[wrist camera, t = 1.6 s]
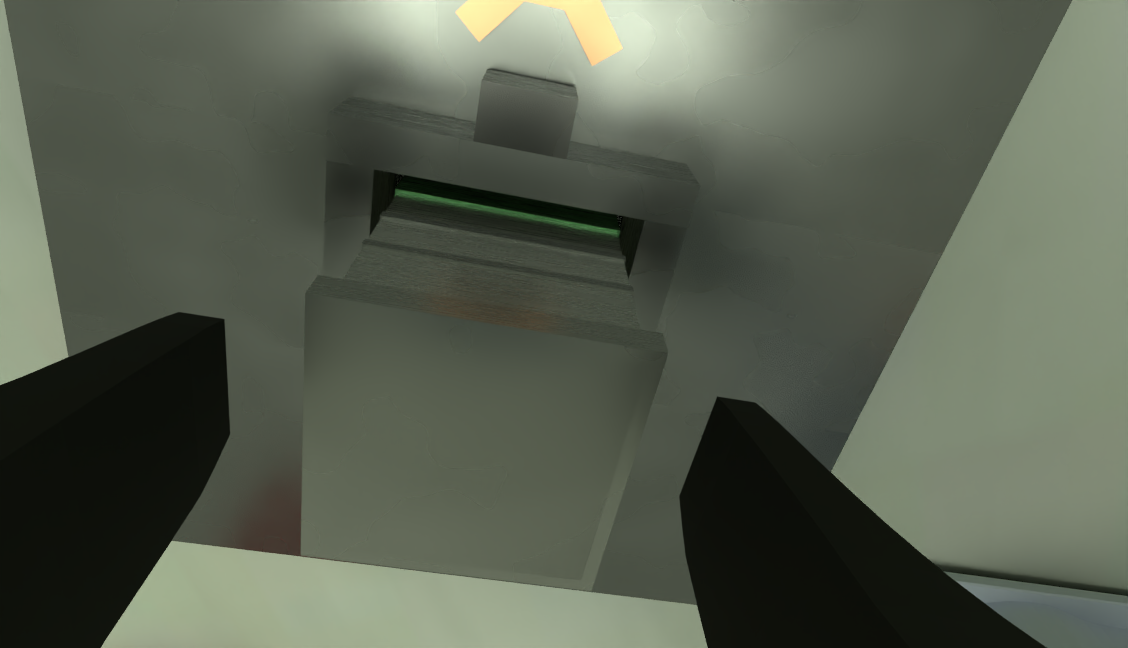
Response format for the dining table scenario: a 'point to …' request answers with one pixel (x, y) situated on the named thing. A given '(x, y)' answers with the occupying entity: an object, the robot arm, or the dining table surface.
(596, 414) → the column
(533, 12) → the stand base
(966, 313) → the dining table surface
